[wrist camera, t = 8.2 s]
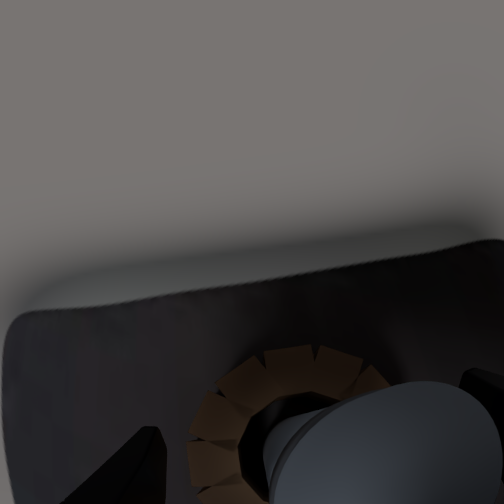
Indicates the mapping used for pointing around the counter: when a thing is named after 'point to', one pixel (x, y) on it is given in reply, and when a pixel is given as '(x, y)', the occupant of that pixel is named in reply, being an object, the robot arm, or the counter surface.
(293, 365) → the brown segmented ring
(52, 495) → the counter surface
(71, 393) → the counter surface
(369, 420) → the dark grey capped cylinder
